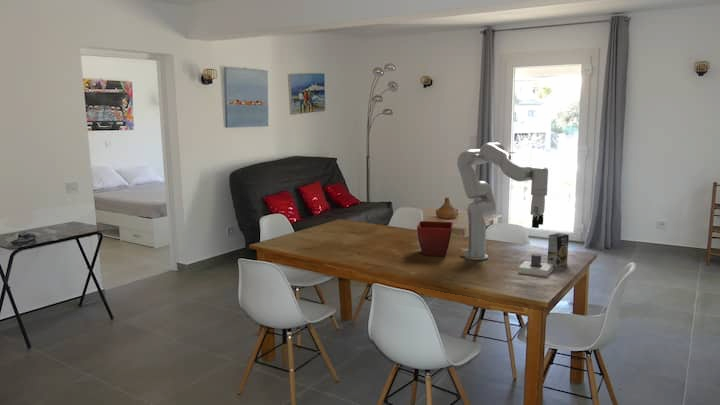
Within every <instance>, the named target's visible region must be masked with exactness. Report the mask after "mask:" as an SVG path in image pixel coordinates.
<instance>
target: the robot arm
mask: <svg viewBox="0 0 720 405" xmlns="http://www.w3.org/2000/svg"><path fill="white" fill-rule="evenodd" d="M511 160H512V155H511V153H510V152H508V151H506V150H505V147H504V145H503V144H502V143H501V142H485V143H484V144H482V145H481V147H480V148H475V149H473V148H472V149H466V150H463V151H462V152H460V154H459V155H458V157H457V161H456V162H457V163H456V165H457V169H458V172H459V174H460V178H461V182H462V186H463V188H464V189H463V190H464V194H465V195H466V197H467V199H470V200H476V201H472V202H470V203H469V204H468V206H467V210H466V214H467V220H468V231H467V232H468V235H467V236H468V237H467V240H468V241H467V248H460V252H461V253H465V255H464V257H465V258H466V259H469V260H474V261H485V260H488V258H489V255H488V254H486V248H487V247H486V246H487V245H486V244H487V223H486V220H485V218H488V217H489V218H490V217H492V216H493V215H494V214H495V213H496V211H497V210H496V209H497V207H496V201H495V198H494V195H493V190H492V187H491V185H490V184H489V183H488V182H486V181H485V180H479V178H478V174H477V172H476V170H475V169H474V167H473V166H475V165H476V166H477V165H484V164H487V163H490V162H491V164H494V165H495V166H497V167H499V168H500V170H501V172H502V174H504V175H505V176H507V177H508V178H510V179H512V180H514V181H515V182H527V181H531V188H530V189H531V191H530V195H531V202H530V204H531V205H530V215H531V216H532V218H531V219H532V220H531V228H534V229H539V227H540V226H542V225H544V213H545V209H546V208H545V206H546V205H545V204H546V196H548V181H549V169H548V168H547V167H544V166H535V165H520V166H519V165H517V164H516V163H514V162H513V161H511ZM477 199H478V200H477Z"/></svg>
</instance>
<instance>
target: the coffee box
mask: <svg viewBox="0 0 720 405" xmlns="http://www.w3.org/2000/svg"><path fill="white" fill-rule="evenodd" d="M569 237H570V234H565V233H557V232H556V233H553V234H549V235H548V245H547V262H546V263H547V264H553V267H556V268H559V267H562V266H566V265H568V256H569V254H568V253H569V239H570V238H569Z"/></svg>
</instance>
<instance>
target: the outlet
mask: <svg viewBox="0 0 720 405" xmlns="http://www.w3.org/2000/svg"><path fill="white" fill-rule="evenodd" d="M517 267H518V270H517V271H518V274H523V275H530V276H531V275H532V276H539V277H548V276H549V275H550V274H551V273H552V272H553V270H554V266H553V264H547V262H541V268H540V267H532V266H531V261H530V260H525V261H523V262H522V263H521V264H520V265H519V266H517Z"/></svg>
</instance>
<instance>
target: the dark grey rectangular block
mask: <svg viewBox="0 0 720 405" xmlns="http://www.w3.org/2000/svg"><path fill="white" fill-rule="evenodd" d="M530 257H531V258H530V259H531V266H532V267H540V268H541V263H542V254H541V253H532V254H531V256H530Z"/></svg>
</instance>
